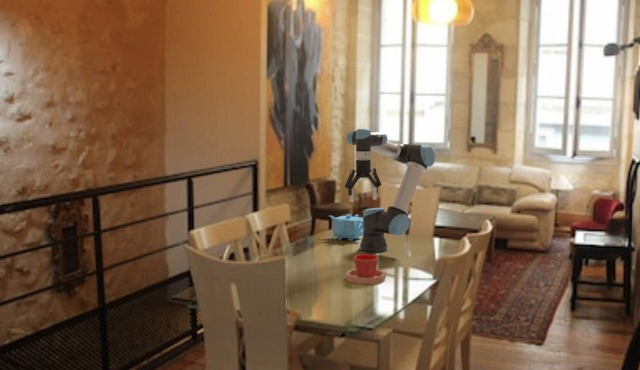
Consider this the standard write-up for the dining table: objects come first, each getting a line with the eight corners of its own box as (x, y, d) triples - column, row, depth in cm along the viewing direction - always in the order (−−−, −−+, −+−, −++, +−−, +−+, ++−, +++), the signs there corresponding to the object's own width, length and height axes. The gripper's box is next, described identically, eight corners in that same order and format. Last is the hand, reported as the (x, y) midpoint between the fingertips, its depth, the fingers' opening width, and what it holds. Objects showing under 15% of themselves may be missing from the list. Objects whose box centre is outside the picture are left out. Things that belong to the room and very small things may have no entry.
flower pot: (376, 280, 310) (376, 260, 309) (352, 279, 312) (352, 259, 311) (378, 274, 321) (379, 254, 319) (355, 273, 323) (356, 253, 321)
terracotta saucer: (372, 272, 328) (372, 266, 328) (392, 281, 312) (392, 275, 312) (339, 276, 321) (339, 270, 320) (357, 286, 304) (358, 280, 304)
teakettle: (367, 241, 399) (367, 216, 397) (337, 242, 394) (337, 217, 392) (357, 234, 417) (357, 211, 415) (328, 236, 412) (328, 212, 410)
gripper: (345, 161, 335) (345, 203, 338) (388, 158, 346) (387, 199, 349) (338, 160, 342) (338, 201, 345) (380, 157, 353) (380, 197, 356)
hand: (363, 200), depth 347 cm, fingers open, 13 cm apart
